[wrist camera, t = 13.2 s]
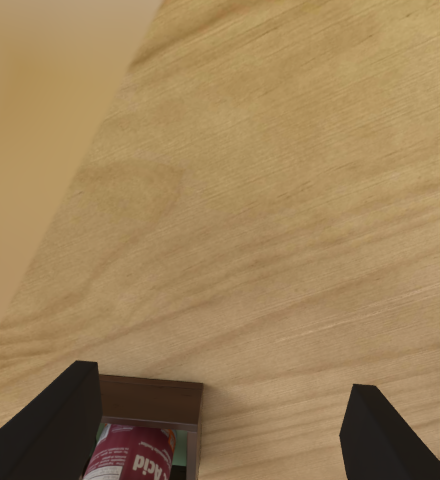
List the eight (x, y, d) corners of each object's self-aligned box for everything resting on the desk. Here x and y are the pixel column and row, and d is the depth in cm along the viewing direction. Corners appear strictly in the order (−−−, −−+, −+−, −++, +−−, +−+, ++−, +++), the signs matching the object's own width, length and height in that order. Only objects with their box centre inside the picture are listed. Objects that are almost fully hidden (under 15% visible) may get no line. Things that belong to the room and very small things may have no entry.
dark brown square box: (199, 463, 26) (194, 509, 23) (93, 454, 26) (76, 497, 23) (203, 383, 22) (197, 424, 20) (83, 372, 23) (61, 412, 20)
